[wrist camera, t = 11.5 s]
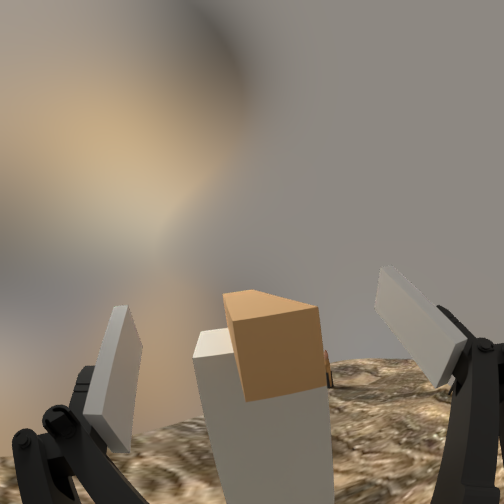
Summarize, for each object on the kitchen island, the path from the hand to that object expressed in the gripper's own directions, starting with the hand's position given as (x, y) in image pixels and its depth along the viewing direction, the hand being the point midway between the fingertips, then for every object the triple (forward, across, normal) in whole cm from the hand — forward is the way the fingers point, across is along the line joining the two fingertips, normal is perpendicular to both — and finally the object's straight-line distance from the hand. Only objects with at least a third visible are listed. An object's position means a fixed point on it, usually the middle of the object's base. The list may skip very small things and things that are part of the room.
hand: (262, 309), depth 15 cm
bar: (+4, 0, -5) cm, 6 cm away
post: (-10, 0, -34) cm, 36 cm away
